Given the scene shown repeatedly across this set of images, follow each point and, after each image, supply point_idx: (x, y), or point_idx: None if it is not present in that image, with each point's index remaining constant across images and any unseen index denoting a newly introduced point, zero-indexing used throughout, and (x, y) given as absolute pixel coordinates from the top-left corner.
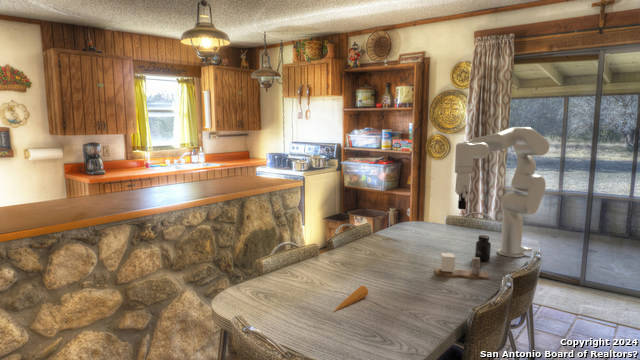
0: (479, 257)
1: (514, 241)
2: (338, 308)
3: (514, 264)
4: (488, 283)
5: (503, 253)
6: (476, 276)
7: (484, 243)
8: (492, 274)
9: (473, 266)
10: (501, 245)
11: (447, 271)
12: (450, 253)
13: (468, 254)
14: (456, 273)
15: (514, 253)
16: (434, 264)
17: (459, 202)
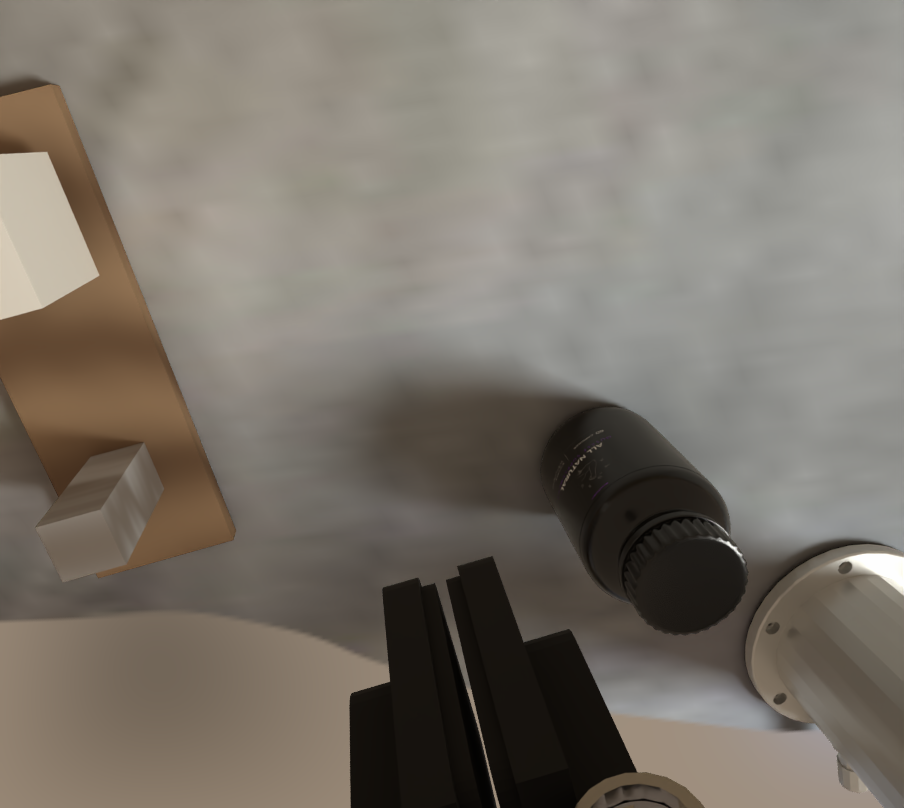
0: (552, 460)
1: (846, 750)
2: None
3: None
4: (3, 573)
5: (779, 603)
6: (54, 488)
7: (605, 566)
8: (245, 573)
9: (65, 489)
10: (872, 612)
11: None
12: (27, 272)
13: (722, 332)
14: (19, 320)
15: (783, 677)
16: (254, 48)
17: (401, 772)
